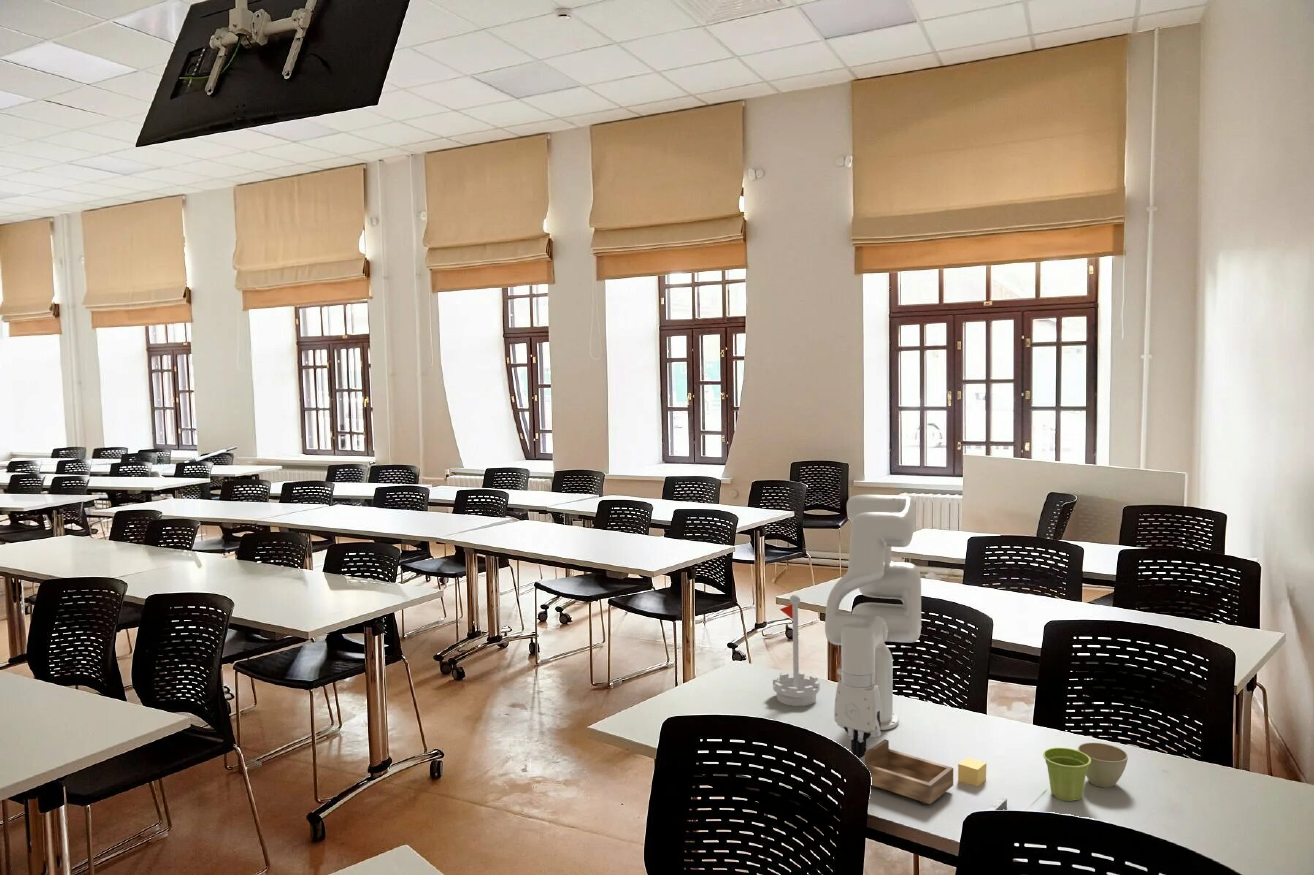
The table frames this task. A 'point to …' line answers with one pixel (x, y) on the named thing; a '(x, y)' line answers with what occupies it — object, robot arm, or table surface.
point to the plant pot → (1066, 772)
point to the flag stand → (795, 670)
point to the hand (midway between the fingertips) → (858, 756)
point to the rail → (999, 804)
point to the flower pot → (1104, 763)
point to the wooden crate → (907, 773)
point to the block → (972, 771)
